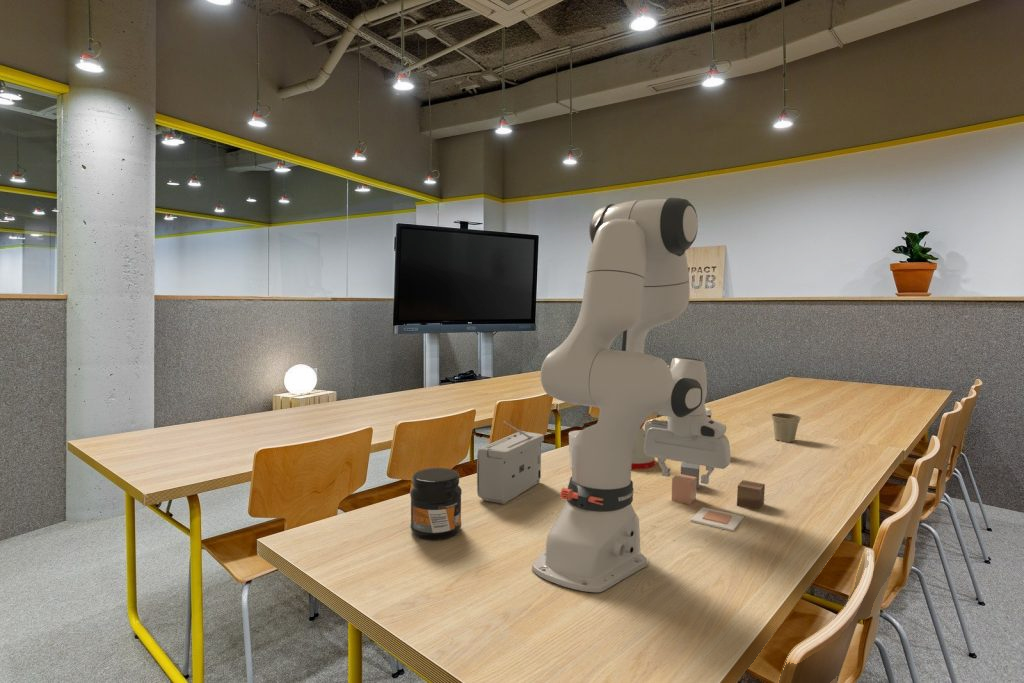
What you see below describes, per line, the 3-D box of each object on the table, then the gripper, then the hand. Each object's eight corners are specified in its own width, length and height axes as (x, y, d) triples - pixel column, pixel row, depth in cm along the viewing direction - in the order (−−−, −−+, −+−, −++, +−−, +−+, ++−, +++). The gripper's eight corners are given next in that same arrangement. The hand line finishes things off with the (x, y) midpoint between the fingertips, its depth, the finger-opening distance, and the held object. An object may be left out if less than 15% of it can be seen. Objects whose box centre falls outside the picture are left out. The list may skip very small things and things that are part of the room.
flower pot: (805, 443, 190) (806, 418, 189) (777, 443, 190) (778, 418, 189) (791, 437, 199) (793, 413, 199) (765, 436, 199) (766, 412, 199)
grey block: (698, 489, 143) (699, 468, 143) (680, 487, 145) (680, 466, 144) (698, 484, 147) (699, 464, 147) (681, 482, 149) (681, 462, 148)
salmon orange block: (690, 504, 133) (690, 482, 132) (671, 500, 135) (672, 478, 135) (695, 499, 136) (696, 477, 136) (677, 495, 139) (678, 473, 138)
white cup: (594, 472, 156) (595, 437, 155) (566, 470, 157) (567, 436, 157) (596, 464, 164) (597, 431, 163) (569, 462, 165) (570, 429, 164)
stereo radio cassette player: (518, 477, 152) (518, 404, 150) (545, 482, 147) (546, 407, 146) (475, 501, 133) (475, 418, 132) (504, 507, 129) (505, 422, 128)
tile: (733, 531, 117) (733, 528, 117) (690, 521, 122) (690, 518, 122) (743, 517, 125) (743, 514, 125) (702, 508, 130) (702, 506, 130)
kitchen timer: (646, 472, 157) (648, 419, 156) (600, 464, 164) (601, 414, 163) (659, 459, 169) (661, 411, 168) (616, 453, 176) (617, 406, 175)
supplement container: (441, 546, 109) (441, 486, 108) (399, 534, 114) (399, 477, 113) (471, 527, 118) (471, 471, 117) (431, 517, 123) (431, 464, 122)
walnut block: (759, 510, 129) (760, 489, 129) (736, 506, 132) (737, 485, 132) (763, 504, 133) (764, 484, 133) (741, 500, 136) (742, 479, 136)
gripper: (640, 420, 138) (639, 474, 139) (726, 432, 126) (724, 491, 128) (649, 415, 143) (648, 468, 144) (733, 426, 131) (731, 483, 133)
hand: (684, 479), depth 136 cm, fingers open, 8 cm apart
